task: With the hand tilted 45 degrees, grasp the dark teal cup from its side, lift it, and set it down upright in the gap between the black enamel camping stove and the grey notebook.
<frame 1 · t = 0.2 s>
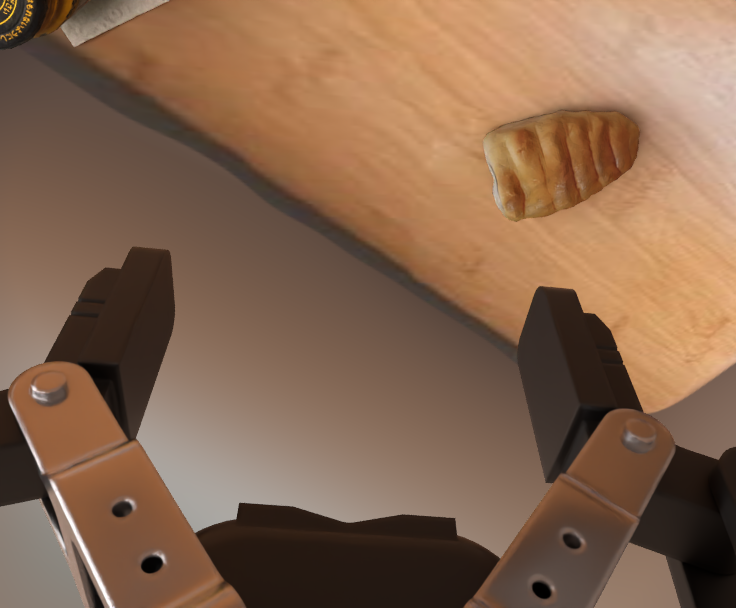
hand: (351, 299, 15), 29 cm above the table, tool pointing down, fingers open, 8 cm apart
pastry: (546, 150, 45), on the table
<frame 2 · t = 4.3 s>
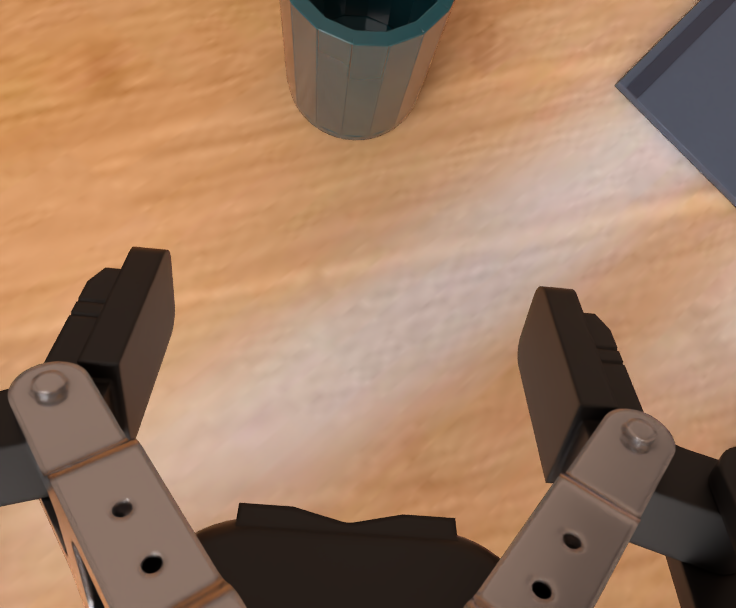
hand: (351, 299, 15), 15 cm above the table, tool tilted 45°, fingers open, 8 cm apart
dark teal cup: (354, 75, 31), on the table
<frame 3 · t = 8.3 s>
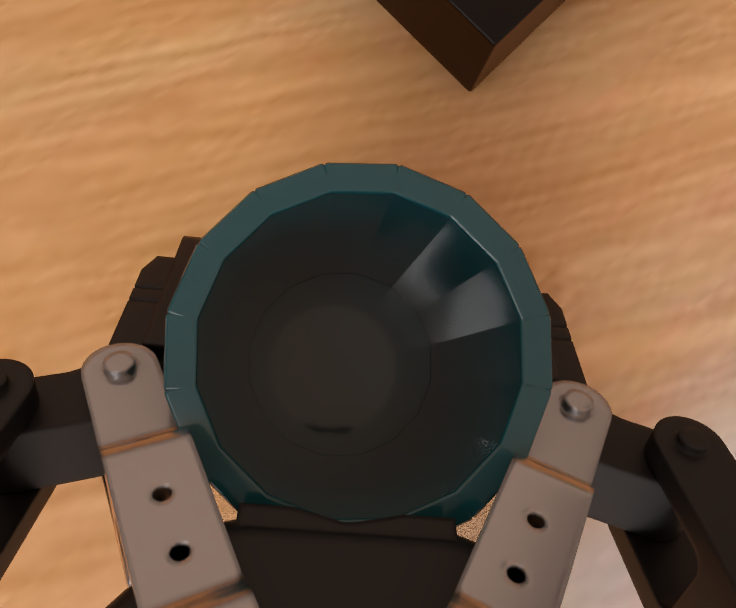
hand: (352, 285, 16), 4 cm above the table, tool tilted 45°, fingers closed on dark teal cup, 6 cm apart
dark teal cup: (340, 363, 20), on the table, touching gripper
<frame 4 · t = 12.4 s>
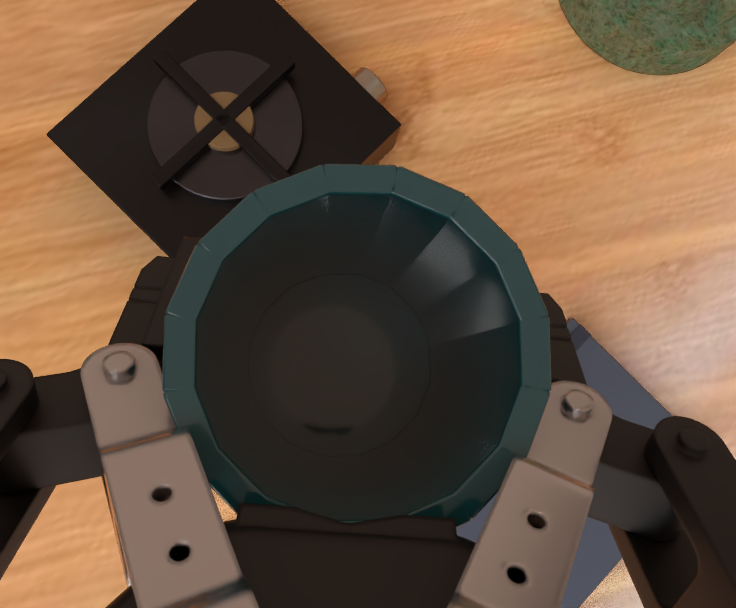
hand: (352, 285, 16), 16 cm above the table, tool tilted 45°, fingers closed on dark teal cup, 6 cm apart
grey notebook: (559, 472, 32), on the table
stove: (235, 151, 32), on the table
dark teal cup: (339, 364, 20), point 12 cm above the table, touching gripper
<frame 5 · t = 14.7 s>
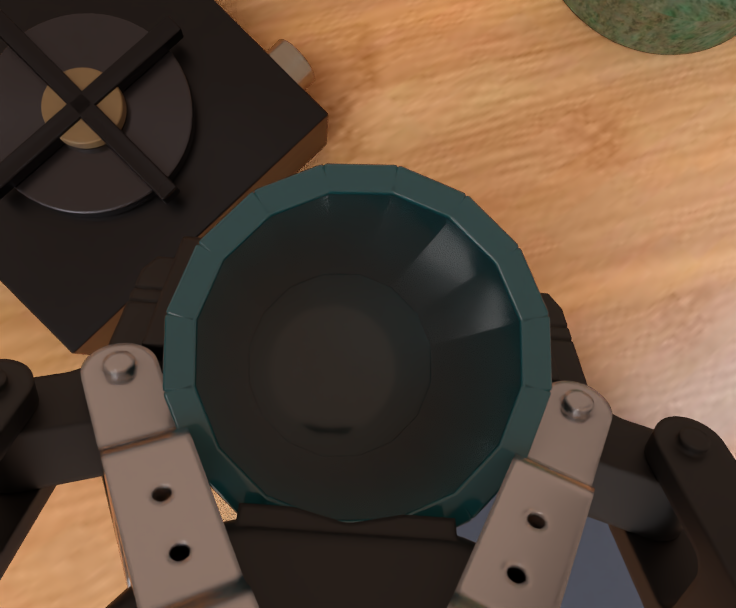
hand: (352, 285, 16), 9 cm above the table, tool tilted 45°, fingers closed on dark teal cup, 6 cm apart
grey notebook: (537, 567, 25), on the table
stove: (119, 148, 25), on the table
dark teal cup: (339, 364, 20), point 5 cm above the table, touching gripper
when the fingers open (4 cm above the table, at t = 16.6 s): dark teal cup stays where it is, on the table.
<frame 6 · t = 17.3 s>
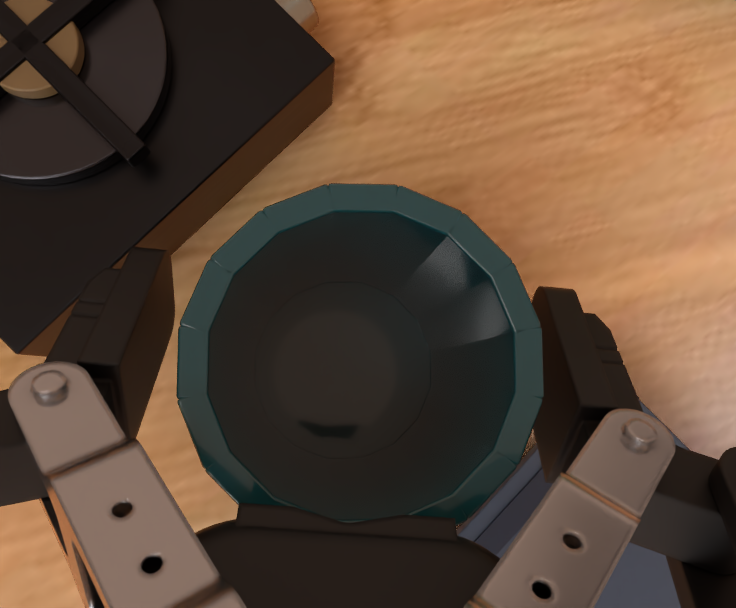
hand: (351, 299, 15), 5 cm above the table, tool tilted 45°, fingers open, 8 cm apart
stove: (83, 108, 21), on the table
dark teal cup: (342, 369, 20), on the table
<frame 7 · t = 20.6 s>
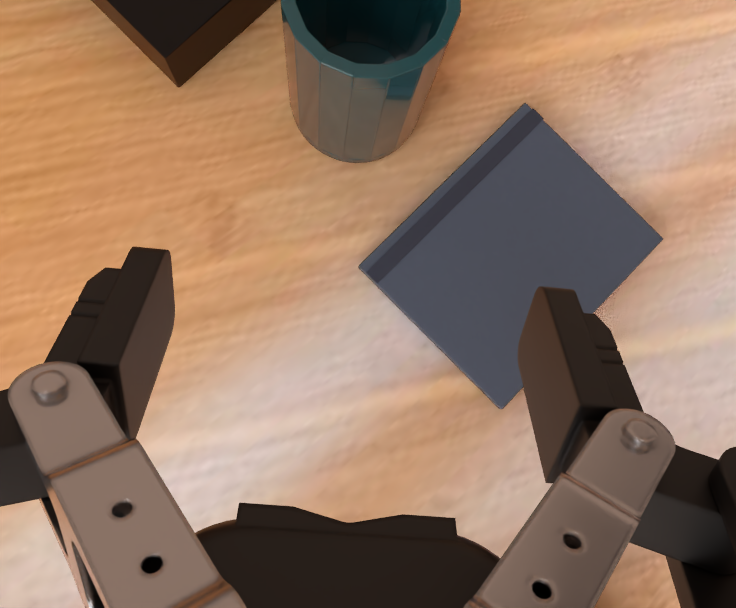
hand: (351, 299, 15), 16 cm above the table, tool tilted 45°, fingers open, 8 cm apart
grey notebook: (511, 253, 32), on the table
dark teal cup: (355, 100, 32), on the table
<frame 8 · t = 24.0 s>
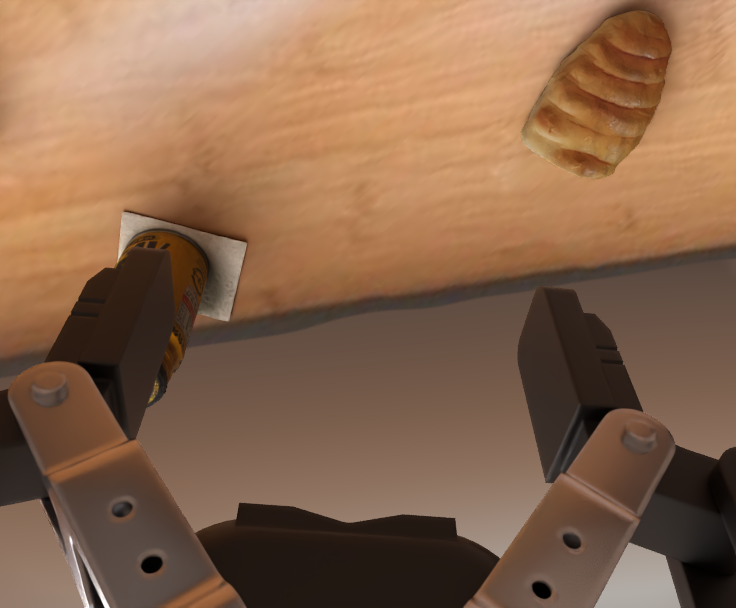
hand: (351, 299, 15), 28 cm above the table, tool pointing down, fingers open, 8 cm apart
condiment: (179, 265, 50), on the table
pastry: (588, 93, 42), on the table
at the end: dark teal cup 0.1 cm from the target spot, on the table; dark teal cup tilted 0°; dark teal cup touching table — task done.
